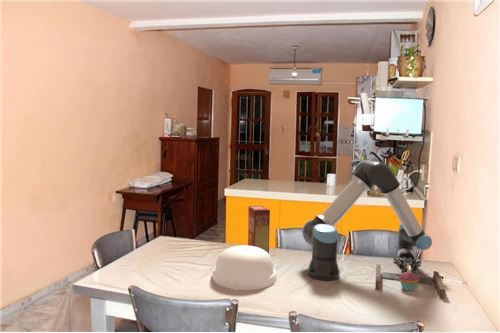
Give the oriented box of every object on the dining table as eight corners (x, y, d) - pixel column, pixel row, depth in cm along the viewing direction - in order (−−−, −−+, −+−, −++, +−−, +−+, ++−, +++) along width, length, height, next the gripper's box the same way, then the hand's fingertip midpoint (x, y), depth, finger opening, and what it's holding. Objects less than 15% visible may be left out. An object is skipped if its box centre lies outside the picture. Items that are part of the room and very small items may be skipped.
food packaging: (246, 248, 242) (248, 205, 240) (262, 247, 244) (263, 205, 242) (253, 255, 229) (254, 210, 227) (269, 254, 232) (271, 209, 229)
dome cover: (223, 264, 214) (224, 237, 213) (281, 270, 207) (282, 242, 206) (202, 286, 183) (202, 255, 182) (269, 294, 176) (270, 262, 175)
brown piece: (375, 289, 185) (375, 280, 184) (376, 272, 207) (376, 264, 207) (444, 299, 176) (445, 289, 176) (437, 279, 199) (438, 271, 199)
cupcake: (394, 284, 191) (396, 259, 190) (413, 285, 191) (415, 259, 190) (402, 292, 183) (404, 265, 181) (421, 292, 183) (423, 265, 182)
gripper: (419, 266, 211) (424, 282, 189) (392, 263, 215) (393, 278, 193) (420, 251, 211) (425, 266, 188) (393, 249, 214) (394, 262, 192)
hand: (409, 272), depth 190 cm, fingers closed
